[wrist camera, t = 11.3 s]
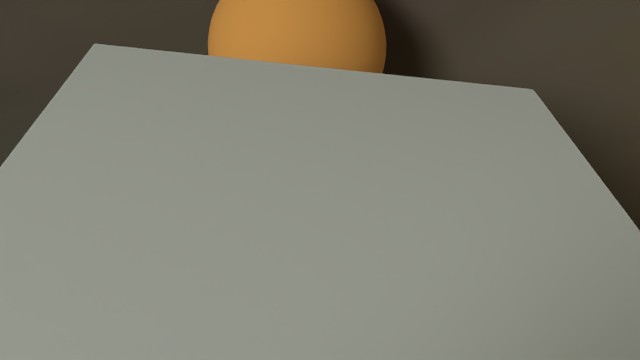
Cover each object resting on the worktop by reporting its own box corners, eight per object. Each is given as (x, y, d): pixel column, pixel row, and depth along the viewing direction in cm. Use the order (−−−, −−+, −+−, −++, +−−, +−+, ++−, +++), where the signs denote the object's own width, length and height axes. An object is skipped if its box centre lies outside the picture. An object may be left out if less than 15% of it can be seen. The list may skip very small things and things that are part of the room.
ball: (394, 153, 15) (364, 133, 20) (413, -55, 14) (376, -23, 19) (193, 141, 15) (214, 123, 19) (200, -74, 14) (219, -36, 19)
